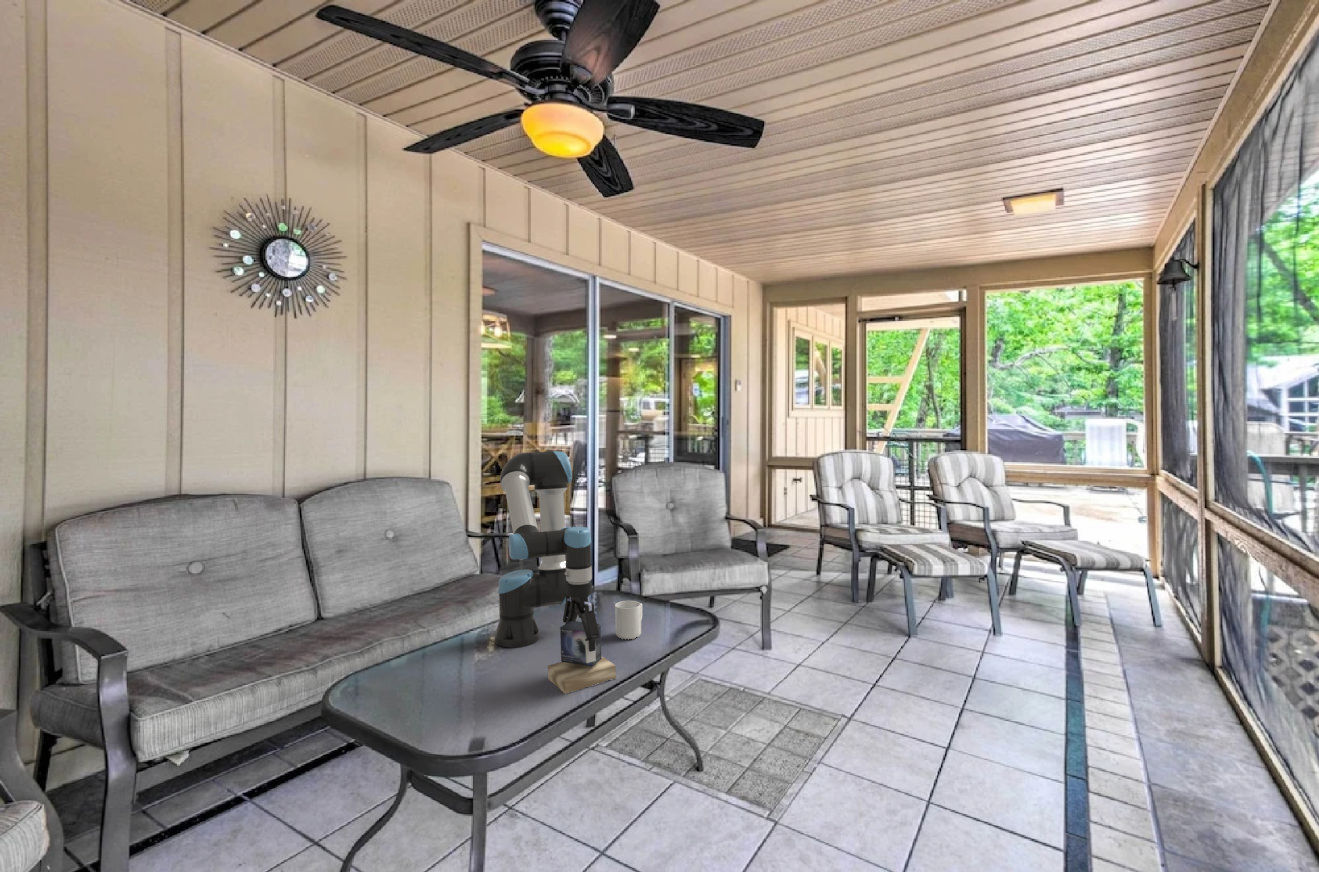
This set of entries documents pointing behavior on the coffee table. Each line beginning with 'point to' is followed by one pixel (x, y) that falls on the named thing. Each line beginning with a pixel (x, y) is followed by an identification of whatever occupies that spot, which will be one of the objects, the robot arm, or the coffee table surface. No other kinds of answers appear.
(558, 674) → the wooden block
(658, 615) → the coffee table surface
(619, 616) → the mug
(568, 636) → the small box
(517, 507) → the robot arm
